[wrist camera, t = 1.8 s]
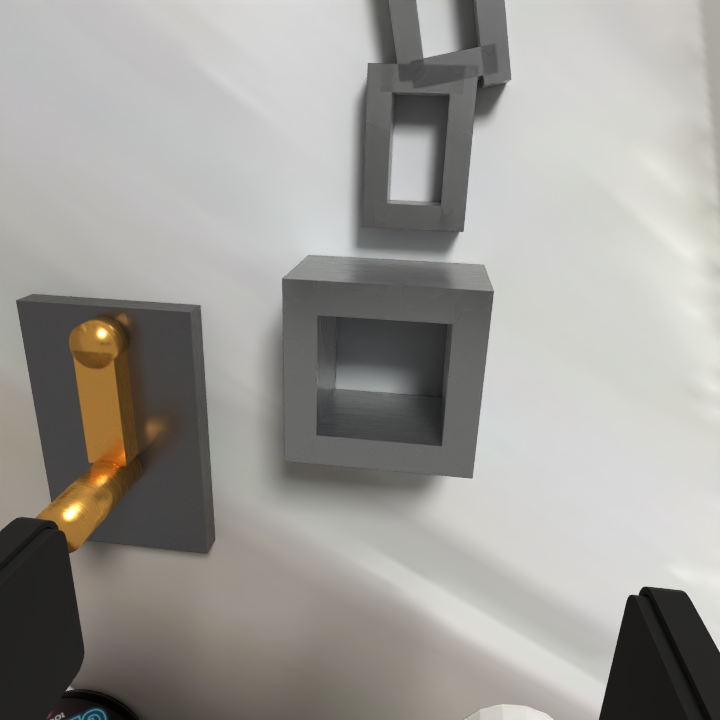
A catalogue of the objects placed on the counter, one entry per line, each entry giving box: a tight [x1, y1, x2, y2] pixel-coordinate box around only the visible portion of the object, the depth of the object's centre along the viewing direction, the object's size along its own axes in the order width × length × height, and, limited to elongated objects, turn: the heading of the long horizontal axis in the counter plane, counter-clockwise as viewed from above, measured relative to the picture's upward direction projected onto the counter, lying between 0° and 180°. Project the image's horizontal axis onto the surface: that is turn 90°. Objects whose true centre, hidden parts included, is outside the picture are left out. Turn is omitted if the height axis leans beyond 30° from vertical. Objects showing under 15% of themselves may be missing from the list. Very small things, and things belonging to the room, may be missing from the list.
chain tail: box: [362, 0, 511, 232], centre depth 19 cm, size 10×4×1 cm, turn 178°
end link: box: [282, 255, 494, 478], centre depth 21 cm, size 6×6×4 cm
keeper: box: [16, 294, 215, 553], centre depth 23 cm, size 11×7×6 cm, turn 178°
